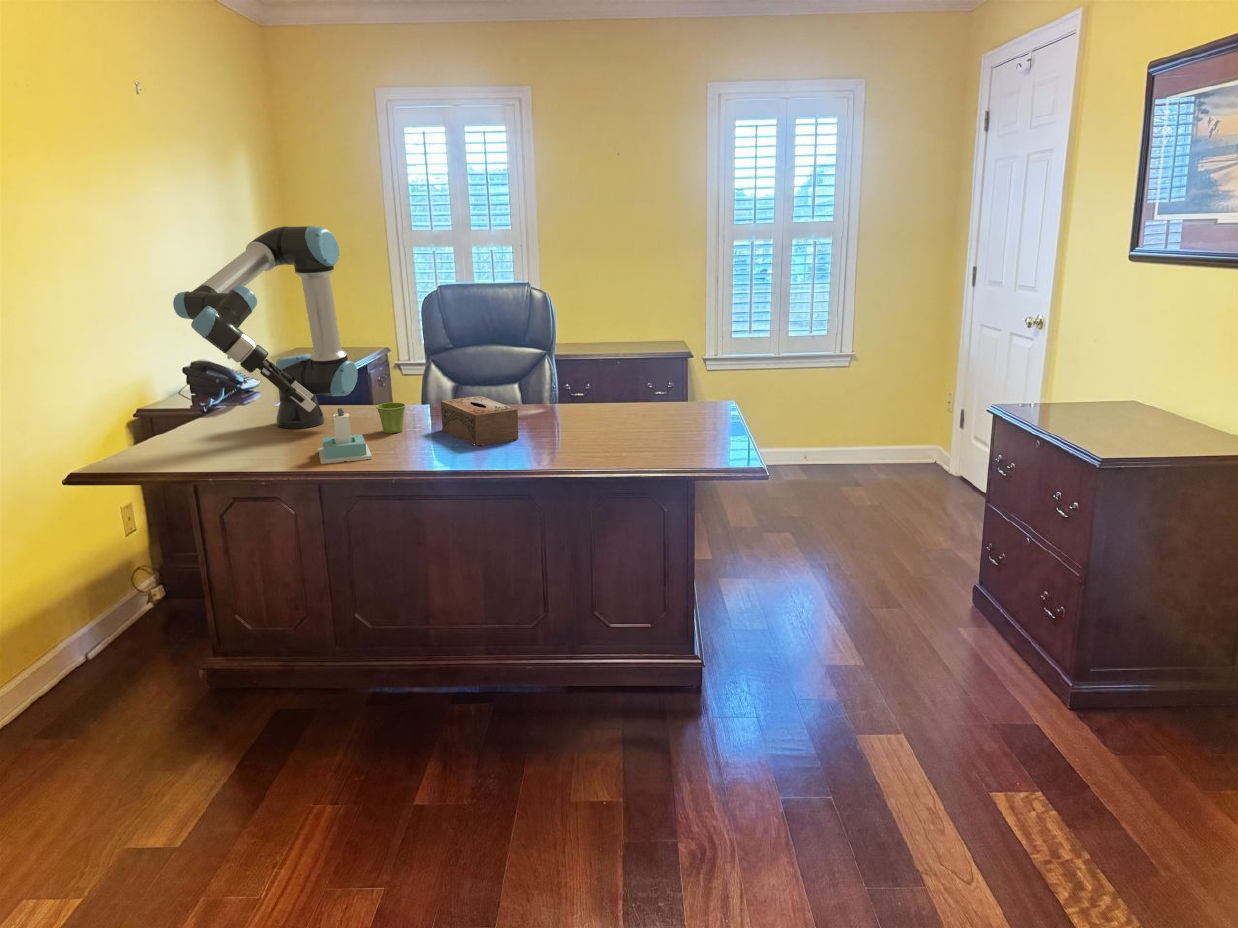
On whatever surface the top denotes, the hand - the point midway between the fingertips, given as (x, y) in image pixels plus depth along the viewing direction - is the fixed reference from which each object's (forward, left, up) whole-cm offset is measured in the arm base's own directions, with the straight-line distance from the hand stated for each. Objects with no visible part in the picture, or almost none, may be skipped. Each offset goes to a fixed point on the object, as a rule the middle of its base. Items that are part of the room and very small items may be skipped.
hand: (311, 403), depth 236 cm
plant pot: (-10, +34, -16) cm, 39 cm away
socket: (+3, +7, -16) cm, 18 cm away
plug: (+3, +7, -15) cm, 17 cm away
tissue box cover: (+16, +49, -17) cm, 54 cm away
